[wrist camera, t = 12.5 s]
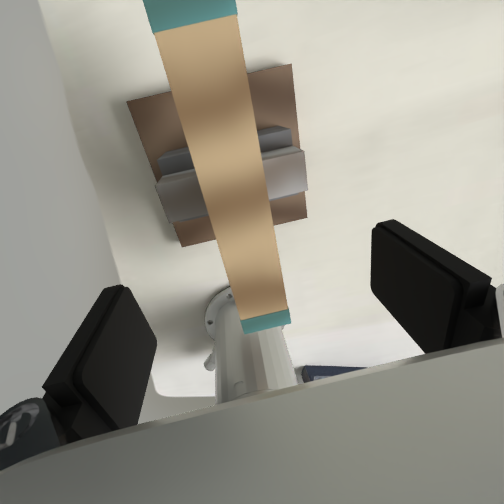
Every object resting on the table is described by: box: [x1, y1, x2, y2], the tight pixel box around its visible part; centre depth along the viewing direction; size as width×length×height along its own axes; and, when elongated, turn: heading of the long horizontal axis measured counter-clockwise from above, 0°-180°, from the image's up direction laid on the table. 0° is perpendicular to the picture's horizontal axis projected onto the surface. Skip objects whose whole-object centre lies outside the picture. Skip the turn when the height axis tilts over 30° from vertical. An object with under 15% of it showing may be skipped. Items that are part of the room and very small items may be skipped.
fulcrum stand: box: [127, 64, 308, 247], centre depth 26 cm, size 16×16×10 cm
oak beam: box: [143, 0, 291, 335], centre depth 19 cm, size 22×4×5 cm, turn 12°
